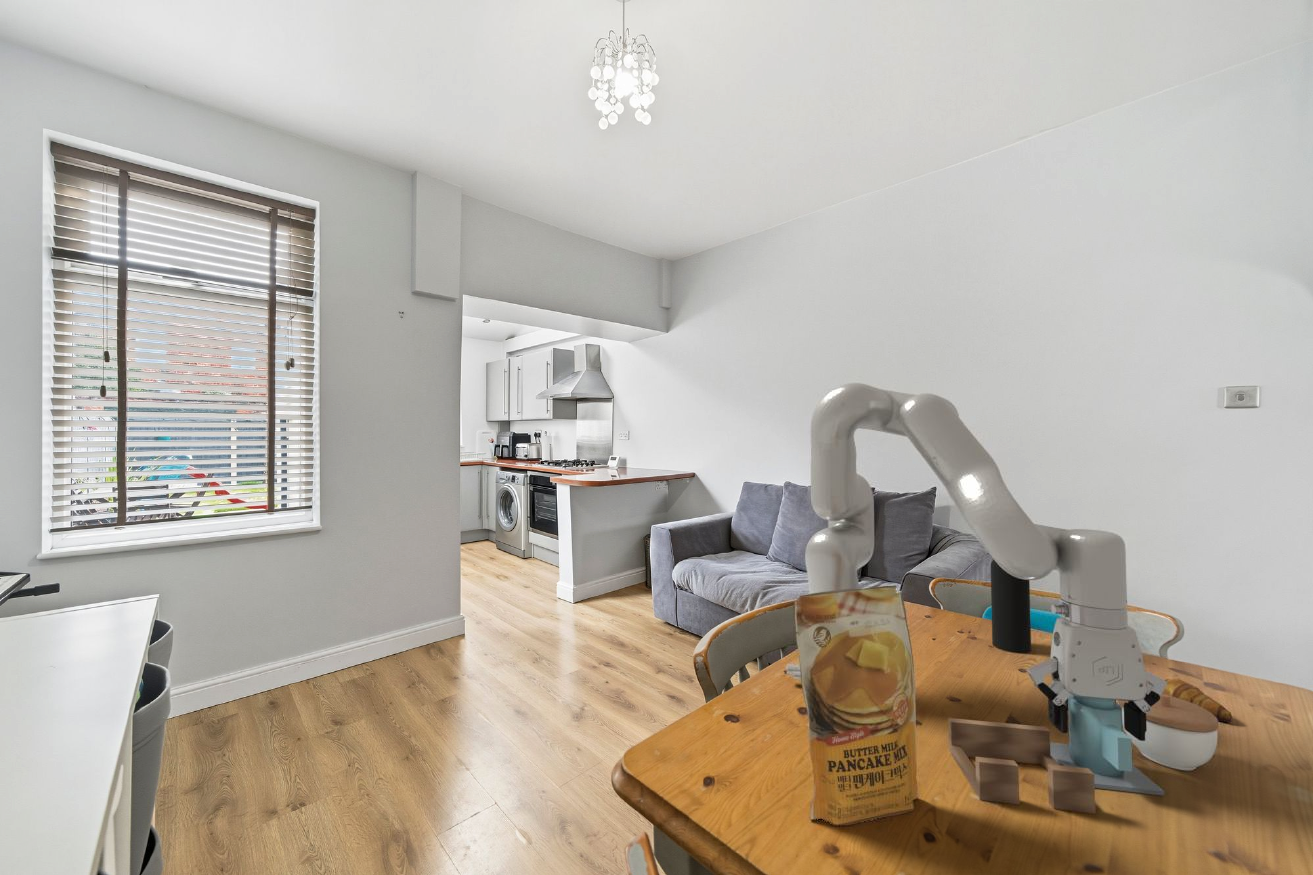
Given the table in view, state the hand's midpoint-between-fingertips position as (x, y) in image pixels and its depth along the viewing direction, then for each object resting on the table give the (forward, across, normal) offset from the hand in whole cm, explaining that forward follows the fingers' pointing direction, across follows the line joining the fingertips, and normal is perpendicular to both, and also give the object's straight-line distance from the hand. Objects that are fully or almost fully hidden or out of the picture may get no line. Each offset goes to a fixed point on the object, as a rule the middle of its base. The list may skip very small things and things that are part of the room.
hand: (1096, 731), depth 74 cm
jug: (+5, 0, -2) cm, 5 cm away
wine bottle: (+5, +10, +49) cm, 50 cm away
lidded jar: (+6, +12, +5) cm, 14 cm away
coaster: (+5, 0, 0) cm, 5 cm away
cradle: (+5, -13, -5) cm, 15 cm away
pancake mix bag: (+5, -36, -15) cm, 39 cm away
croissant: (+6, +27, +24) cm, 36 cm away
